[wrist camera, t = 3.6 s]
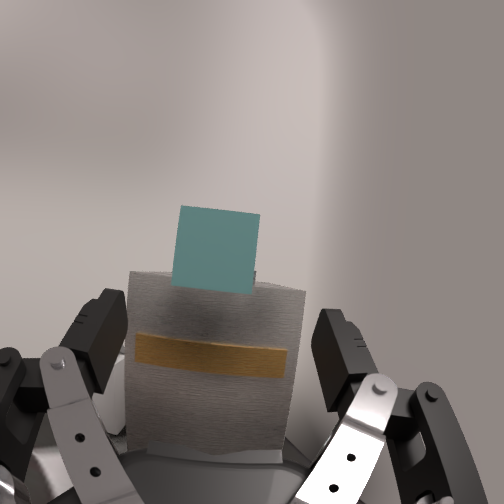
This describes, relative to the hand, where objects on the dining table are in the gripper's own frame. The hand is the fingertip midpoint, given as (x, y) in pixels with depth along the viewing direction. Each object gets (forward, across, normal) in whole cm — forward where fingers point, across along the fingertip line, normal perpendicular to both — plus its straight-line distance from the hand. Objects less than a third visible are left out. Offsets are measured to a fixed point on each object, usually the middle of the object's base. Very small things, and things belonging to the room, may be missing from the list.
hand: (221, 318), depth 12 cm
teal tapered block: (+13, 0, -6) cm, 15 cm away
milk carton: (+17, -21, -46) cm, 54 cm away
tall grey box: (+2, -1, -37) cm, 37 cm away
